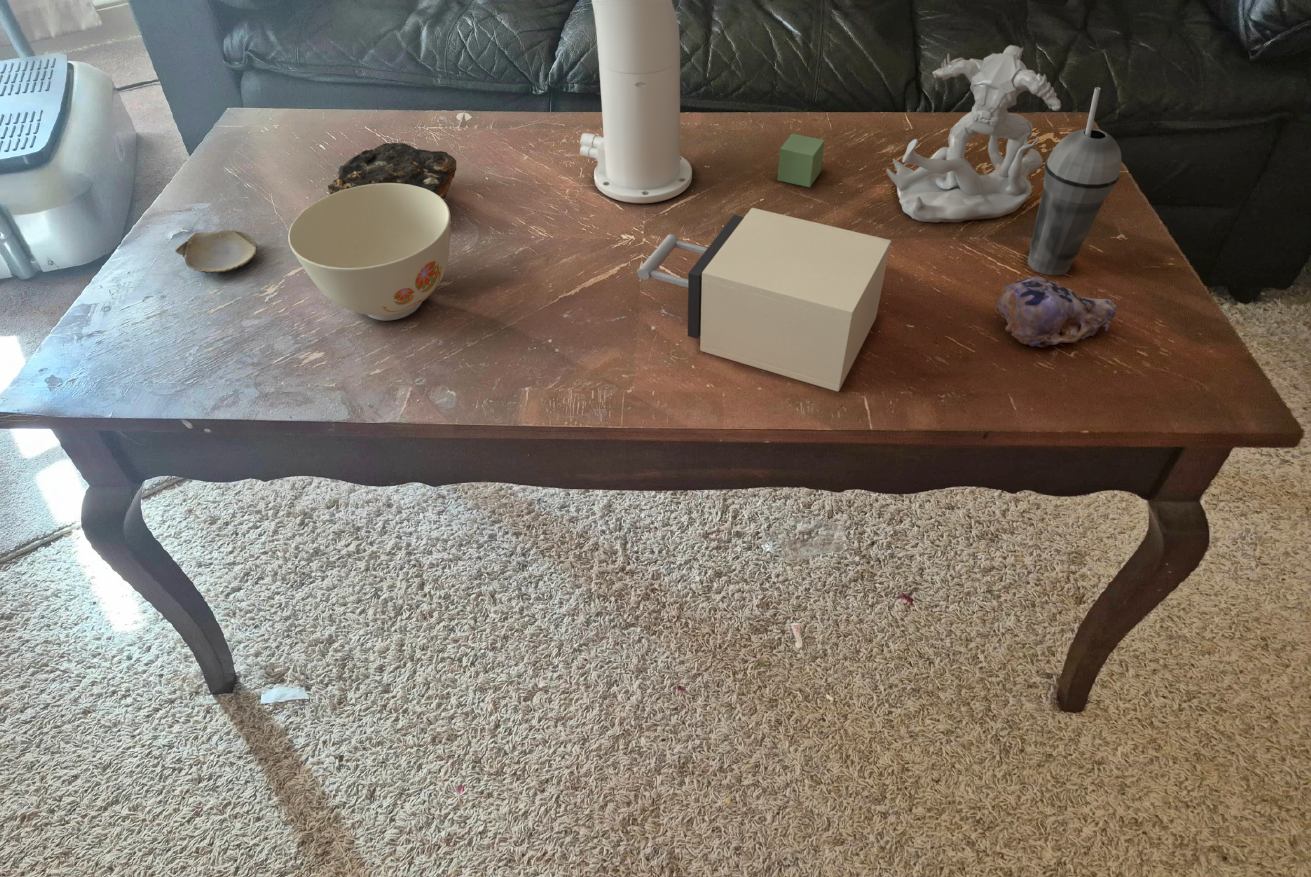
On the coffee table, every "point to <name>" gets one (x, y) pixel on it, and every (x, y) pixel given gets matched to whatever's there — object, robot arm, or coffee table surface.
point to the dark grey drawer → (694, 274)
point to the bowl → (375, 247)
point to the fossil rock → (398, 169)
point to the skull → (1051, 312)
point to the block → (800, 160)
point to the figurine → (1008, 182)
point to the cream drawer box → (792, 297)
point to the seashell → (218, 251)
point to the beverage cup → (1073, 195)
